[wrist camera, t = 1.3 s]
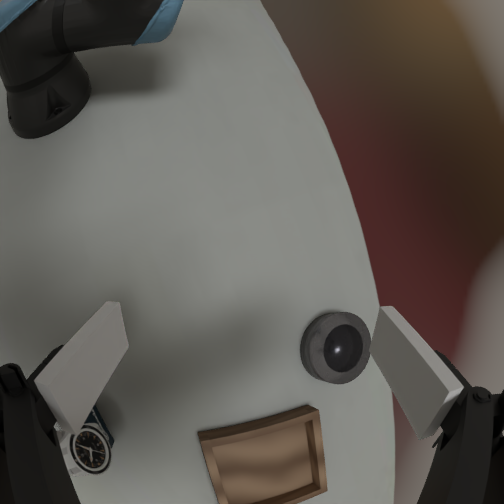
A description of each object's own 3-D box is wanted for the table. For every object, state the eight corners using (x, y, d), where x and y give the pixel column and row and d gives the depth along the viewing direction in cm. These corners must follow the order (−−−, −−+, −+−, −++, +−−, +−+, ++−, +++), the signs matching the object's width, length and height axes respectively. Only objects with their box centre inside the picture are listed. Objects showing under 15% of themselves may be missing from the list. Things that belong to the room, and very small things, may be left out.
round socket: (300, 314, 33) (312, 312, 30) (356, 312, 36) (370, 310, 33) (299, 384, 31) (311, 389, 28) (356, 375, 33) (370, 377, 30)
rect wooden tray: (197, 432, 26) (200, 441, 23) (307, 404, 30) (318, 409, 28) (222, 512, 23) (226, 523, 20) (317, 482, 27) (327, 490, 25)
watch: (128, 437, 23) (114, 484, 13) (74, 449, 20) (44, 491, 10) (106, 395, 24) (78, 427, 14) (52, 409, 21) (11, 438, 11)
